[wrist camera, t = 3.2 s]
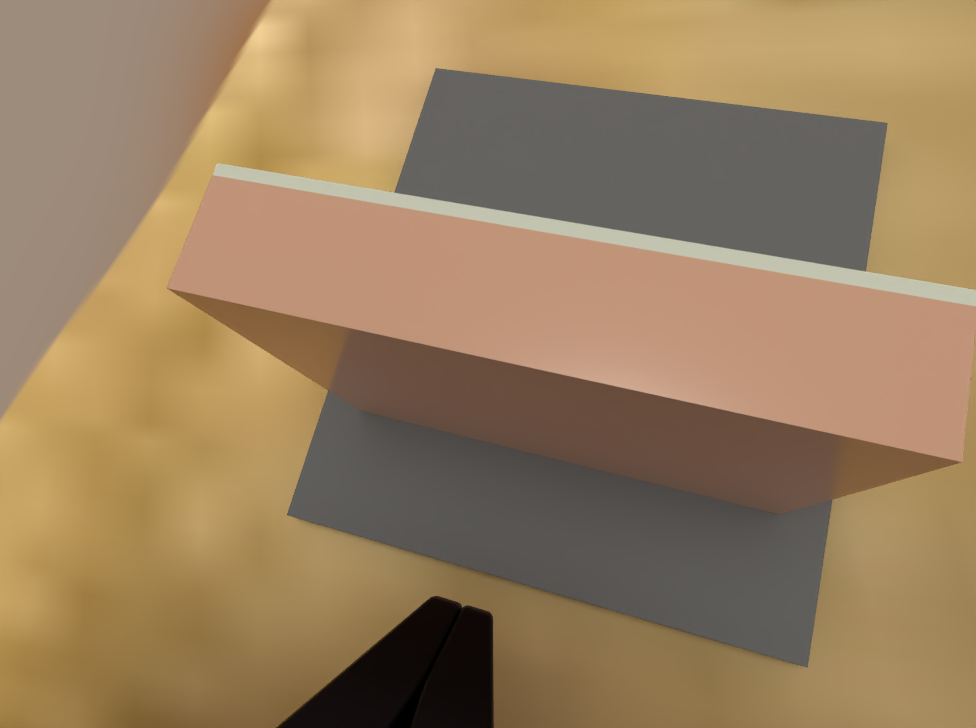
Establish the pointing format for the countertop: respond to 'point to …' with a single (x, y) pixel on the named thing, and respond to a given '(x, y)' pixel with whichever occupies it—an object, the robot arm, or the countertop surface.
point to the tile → (591, 338)
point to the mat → (574, 488)
